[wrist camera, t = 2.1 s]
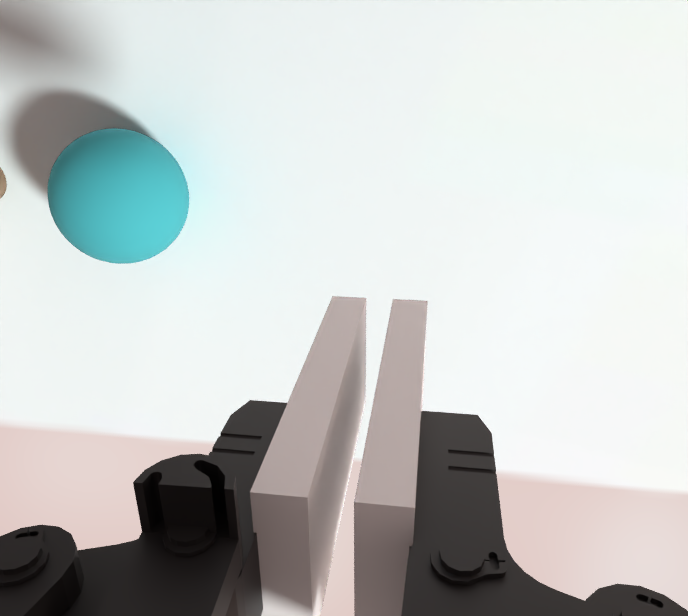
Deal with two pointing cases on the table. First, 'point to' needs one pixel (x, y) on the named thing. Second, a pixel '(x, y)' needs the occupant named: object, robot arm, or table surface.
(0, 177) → the pin
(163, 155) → the ball
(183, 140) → the table surface
